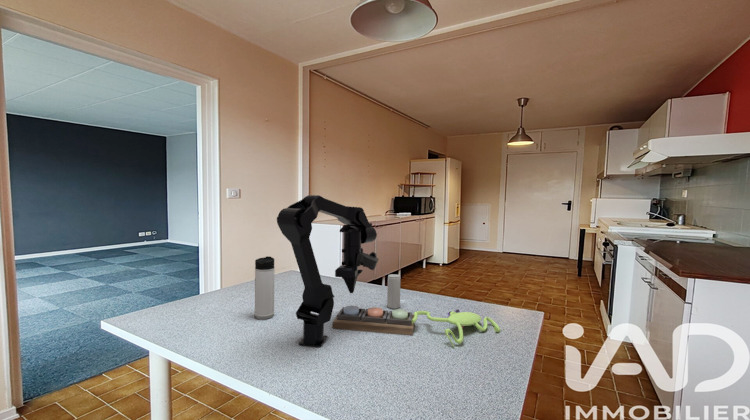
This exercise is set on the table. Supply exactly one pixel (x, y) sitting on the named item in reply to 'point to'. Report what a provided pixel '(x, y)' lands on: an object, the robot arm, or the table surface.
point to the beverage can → (393, 291)
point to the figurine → (459, 322)
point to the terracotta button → (375, 312)
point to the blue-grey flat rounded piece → (351, 310)
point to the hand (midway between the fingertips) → (351, 292)
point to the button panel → (374, 323)
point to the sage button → (400, 314)
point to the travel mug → (264, 288)
